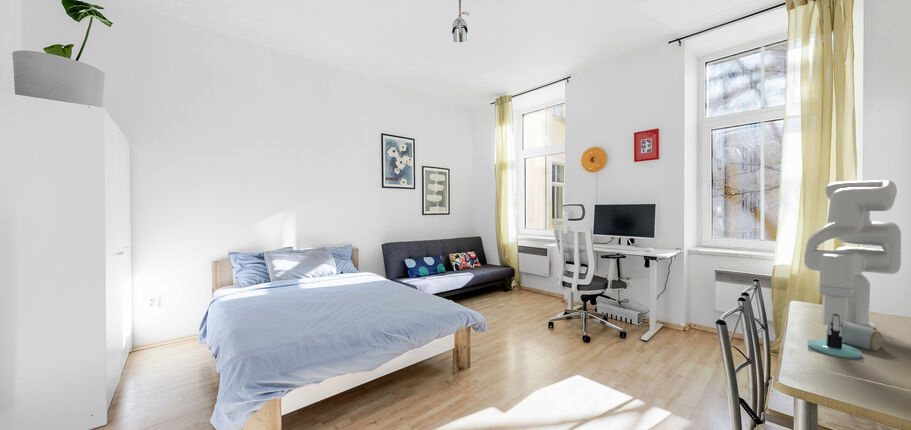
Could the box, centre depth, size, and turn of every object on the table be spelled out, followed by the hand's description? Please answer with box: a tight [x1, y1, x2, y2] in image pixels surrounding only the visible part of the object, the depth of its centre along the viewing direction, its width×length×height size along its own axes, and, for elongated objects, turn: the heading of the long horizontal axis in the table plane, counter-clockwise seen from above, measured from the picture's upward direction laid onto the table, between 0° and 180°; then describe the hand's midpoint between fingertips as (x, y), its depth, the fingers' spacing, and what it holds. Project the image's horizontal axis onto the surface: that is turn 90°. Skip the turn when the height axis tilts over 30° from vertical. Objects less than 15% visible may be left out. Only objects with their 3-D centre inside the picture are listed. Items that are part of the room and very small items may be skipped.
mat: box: [807, 340, 865, 363], centre depth 114 cm, size 12×12×1 cm
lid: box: [807, 329, 863, 359], centre depth 114 cm, size 12×12×6 cm
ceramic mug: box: [841, 322, 884, 351], centre depth 118 cm, size 11×8×8 cm
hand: (833, 344), depth 114 cm, fingers closed on lid, 3 cm apart
